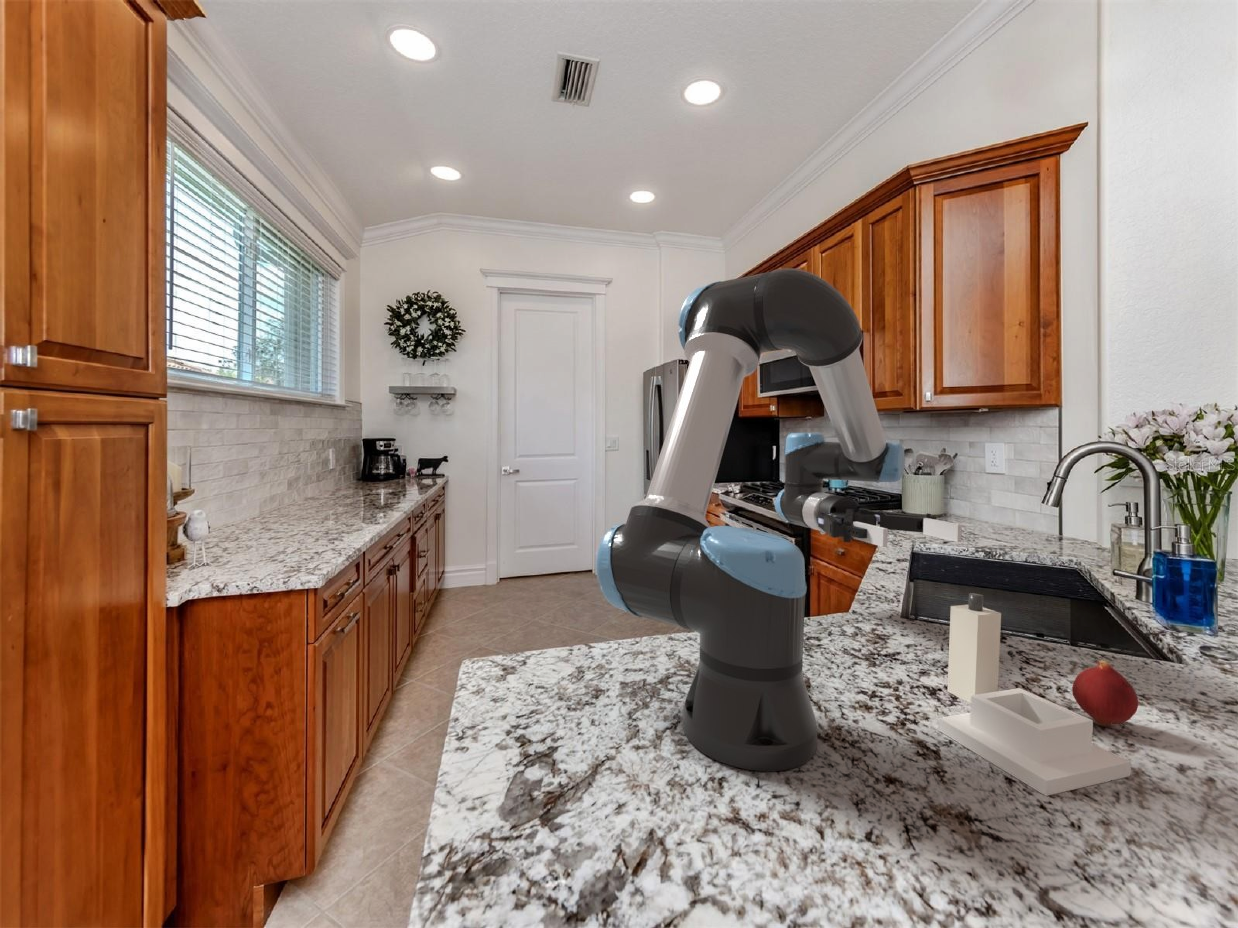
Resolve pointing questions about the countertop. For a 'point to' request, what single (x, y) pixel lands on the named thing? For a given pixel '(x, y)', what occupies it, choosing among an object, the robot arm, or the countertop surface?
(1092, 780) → the socket
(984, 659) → the plug
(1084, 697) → the onion
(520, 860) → the countertop surface
